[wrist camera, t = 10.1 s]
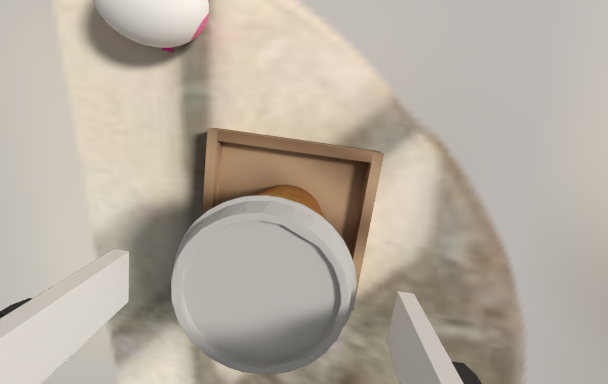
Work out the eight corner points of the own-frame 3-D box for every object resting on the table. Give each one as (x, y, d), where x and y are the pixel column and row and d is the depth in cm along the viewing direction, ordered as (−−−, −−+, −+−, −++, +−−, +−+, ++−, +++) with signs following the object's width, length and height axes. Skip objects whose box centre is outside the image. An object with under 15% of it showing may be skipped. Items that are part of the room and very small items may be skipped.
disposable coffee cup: (224, 259, 27) (153, 361, 16) (239, 154, 25) (170, 183, 13) (328, 280, 27) (335, 399, 16) (353, 177, 25) (382, 225, 13)
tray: (350, 296, 28) (353, 310, 26) (206, 274, 29) (197, 287, 27) (378, 151, 25) (383, 153, 23) (216, 128, 26) (207, 128, 23)
